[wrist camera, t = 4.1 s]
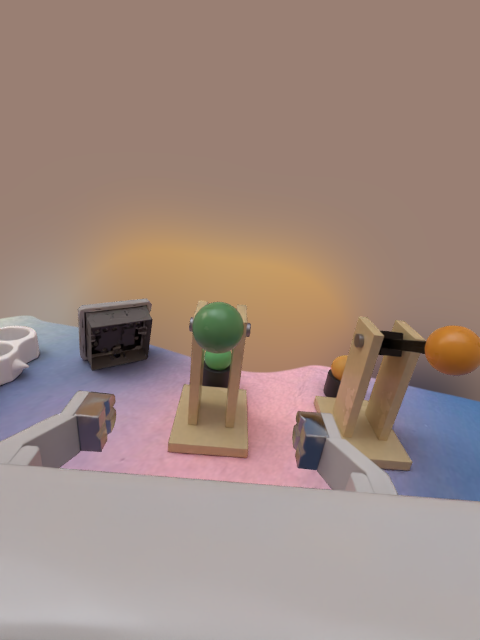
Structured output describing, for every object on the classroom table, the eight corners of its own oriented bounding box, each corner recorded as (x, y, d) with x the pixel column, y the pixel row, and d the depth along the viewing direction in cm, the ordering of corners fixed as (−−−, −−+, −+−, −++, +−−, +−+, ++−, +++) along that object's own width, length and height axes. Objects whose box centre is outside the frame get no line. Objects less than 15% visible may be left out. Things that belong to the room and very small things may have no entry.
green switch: (242, 358, 21) (248, 302, 21) (186, 353, 21) (192, 297, 21) (235, 345, 34) (239, 311, 34) (201, 342, 34) (204, 308, 34)
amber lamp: (327, 402, 43) (337, 364, 41) (320, 384, 47) (329, 348, 45) (357, 404, 43) (368, 366, 41) (347, 386, 47) (358, 351, 45)
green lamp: (199, 390, 42) (202, 351, 40) (202, 373, 46) (205, 336, 44) (230, 393, 43) (234, 354, 40) (230, 376, 46) (235, 339, 44)
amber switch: (495, 381, 22) (500, 328, 22) (443, 377, 22) (448, 323, 22) (393, 360, 35) (396, 327, 35) (360, 357, 35) (363, 324, 35)
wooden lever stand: (246, 458, 33) (265, 337, 28) (167, 451, 33) (171, 328, 27) (245, 397, 42) (259, 297, 37) (183, 391, 42) (188, 290, 36)
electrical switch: (144, 346, 51) (146, 292, 47) (156, 365, 48) (158, 309, 43) (79, 358, 46) (74, 300, 42) (87, 380, 43) (82, 319, 38)
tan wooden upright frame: (409, 470, 34) (459, 356, 28) (333, 465, 34) (369, 347, 28) (373, 408, 43) (405, 312, 38) (313, 403, 43) (337, 305, 37)
